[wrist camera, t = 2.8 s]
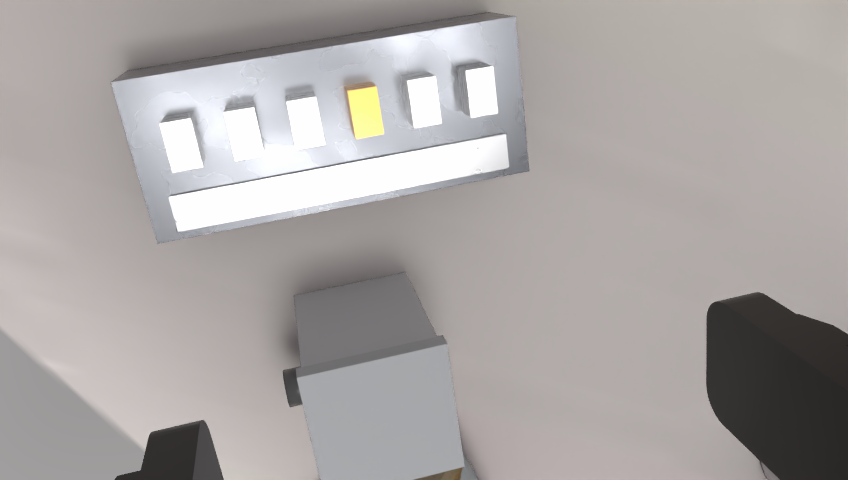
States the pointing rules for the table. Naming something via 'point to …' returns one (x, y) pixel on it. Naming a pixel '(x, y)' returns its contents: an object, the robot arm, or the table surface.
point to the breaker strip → (324, 123)
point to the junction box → (374, 383)
